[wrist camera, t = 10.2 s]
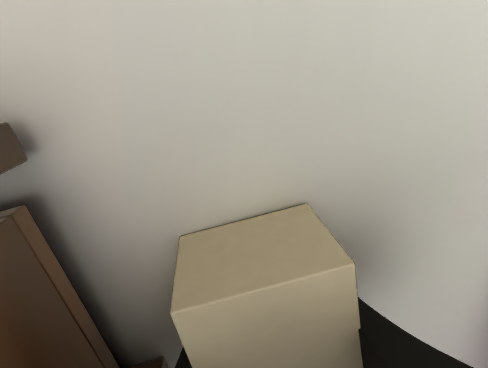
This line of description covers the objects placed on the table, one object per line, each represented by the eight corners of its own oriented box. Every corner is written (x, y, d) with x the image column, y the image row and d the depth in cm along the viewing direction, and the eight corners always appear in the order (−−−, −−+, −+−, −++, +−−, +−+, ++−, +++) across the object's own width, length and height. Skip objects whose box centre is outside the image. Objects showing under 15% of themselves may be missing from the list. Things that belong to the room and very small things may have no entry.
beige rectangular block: (224, 365, 14) (232, 467, 11) (178, 235, 12) (168, 313, 8) (327, 337, 15) (370, 427, 11) (307, 202, 12) (355, 263, 8)
